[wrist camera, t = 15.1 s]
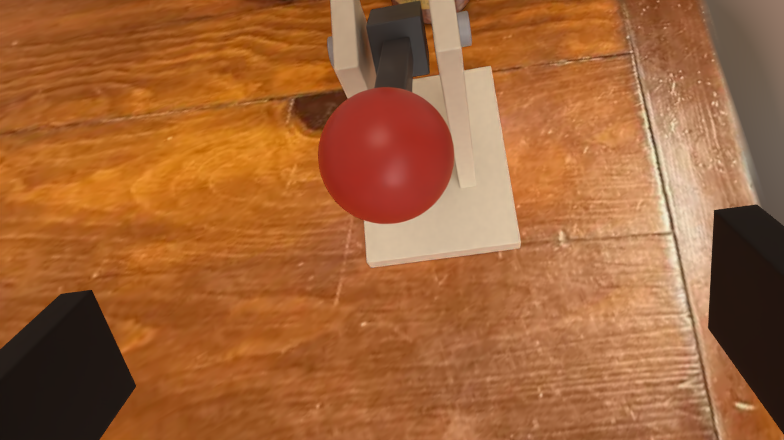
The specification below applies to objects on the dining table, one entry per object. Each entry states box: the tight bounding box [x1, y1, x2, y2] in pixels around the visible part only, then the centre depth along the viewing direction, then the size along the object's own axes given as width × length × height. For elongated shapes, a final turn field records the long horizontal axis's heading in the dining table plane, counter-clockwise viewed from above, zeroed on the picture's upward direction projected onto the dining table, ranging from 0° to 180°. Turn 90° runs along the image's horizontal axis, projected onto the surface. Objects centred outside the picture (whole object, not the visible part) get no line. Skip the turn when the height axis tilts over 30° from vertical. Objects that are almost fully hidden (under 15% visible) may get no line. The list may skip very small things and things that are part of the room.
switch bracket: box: [327, 0, 521, 268], centre depth 30 cm, size 12×9×15 cm
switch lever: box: [318, 1, 454, 224], centre depth 20 cm, size 14×4×4 cm
